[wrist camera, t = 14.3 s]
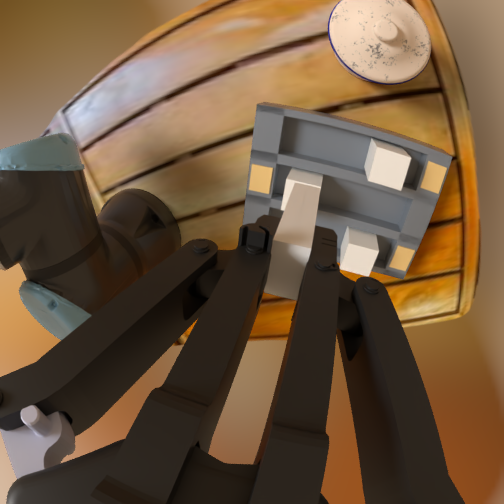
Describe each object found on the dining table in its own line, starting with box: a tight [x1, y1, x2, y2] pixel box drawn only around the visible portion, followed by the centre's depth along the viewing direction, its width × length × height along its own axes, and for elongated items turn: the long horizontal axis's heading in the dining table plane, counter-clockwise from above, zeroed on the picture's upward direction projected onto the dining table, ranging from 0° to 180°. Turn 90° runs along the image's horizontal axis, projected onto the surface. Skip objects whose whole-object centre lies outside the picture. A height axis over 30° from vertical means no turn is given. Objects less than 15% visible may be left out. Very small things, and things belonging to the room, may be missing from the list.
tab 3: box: [364, 137, 411, 191], centre depth 28 cm, size 4×4×5 cm
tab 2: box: [340, 226, 379, 276], centre depth 34 cm, size 4×4×5 cm
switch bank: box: [243, 102, 452, 279], centre depth 33 cm, size 22×17×4 cm
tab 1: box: [281, 167, 323, 211], centre depth 32 cm, size 4×4×5 cm
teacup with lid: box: [328, 0, 431, 85], centre depth 19 cm, size 12×9×12 cm
